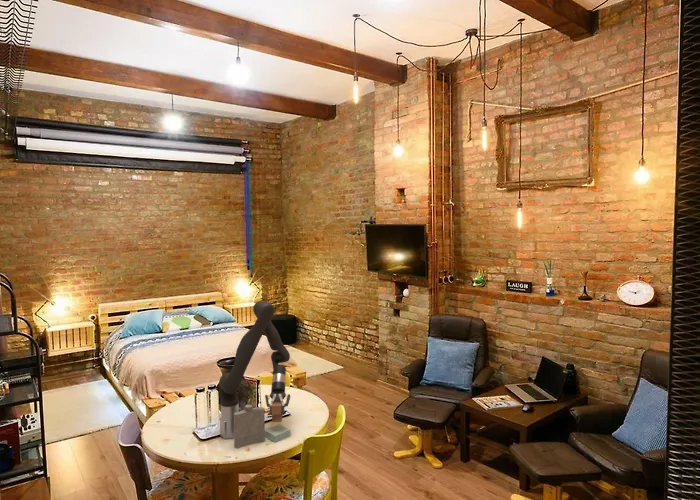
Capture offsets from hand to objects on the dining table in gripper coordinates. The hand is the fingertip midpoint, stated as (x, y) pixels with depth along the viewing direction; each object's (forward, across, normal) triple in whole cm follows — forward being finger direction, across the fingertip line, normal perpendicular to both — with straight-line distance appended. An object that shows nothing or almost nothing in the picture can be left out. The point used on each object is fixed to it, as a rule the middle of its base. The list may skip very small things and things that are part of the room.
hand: (276, 413), depth 244 cm
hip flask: (+13, -14, +6) cm, 20 cm away
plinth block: (+8, 0, +11) cm, 14 cm away
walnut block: (+2, 0, +4) cm, 5 cm away
